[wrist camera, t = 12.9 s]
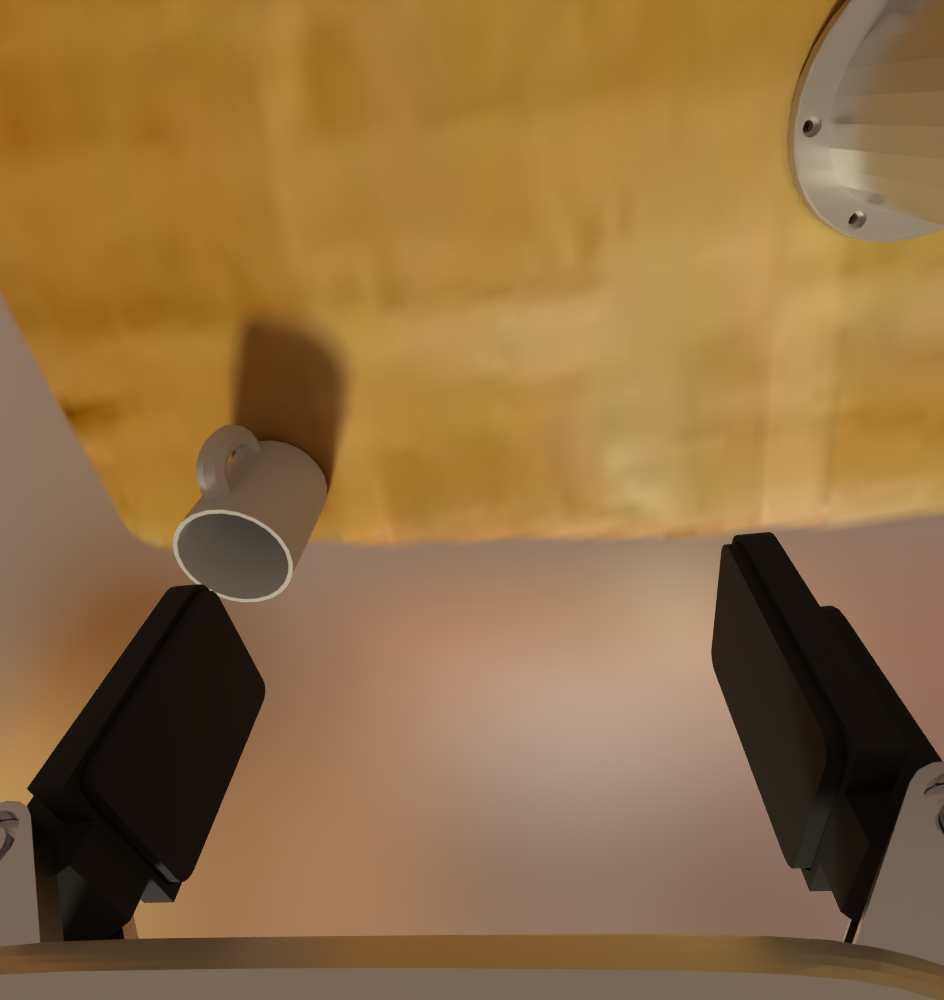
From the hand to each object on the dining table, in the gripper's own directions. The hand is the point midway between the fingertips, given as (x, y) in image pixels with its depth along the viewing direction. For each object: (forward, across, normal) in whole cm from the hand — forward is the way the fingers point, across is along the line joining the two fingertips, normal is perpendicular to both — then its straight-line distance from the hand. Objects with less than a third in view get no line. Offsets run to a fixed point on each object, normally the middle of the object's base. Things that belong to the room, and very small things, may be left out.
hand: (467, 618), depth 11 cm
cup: (+28, +18, +11) cm, 35 cm away
